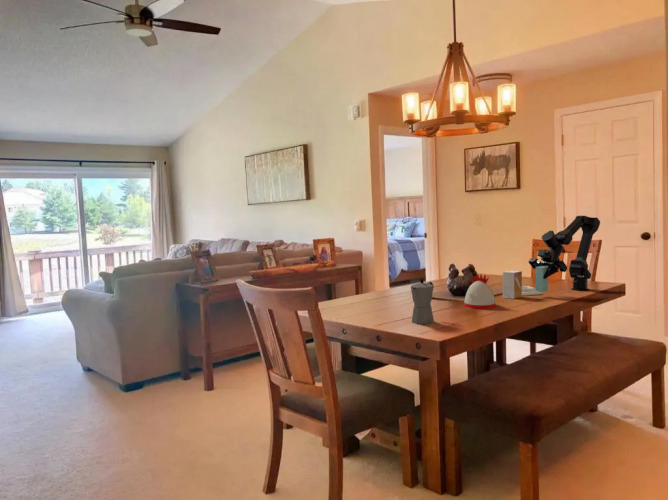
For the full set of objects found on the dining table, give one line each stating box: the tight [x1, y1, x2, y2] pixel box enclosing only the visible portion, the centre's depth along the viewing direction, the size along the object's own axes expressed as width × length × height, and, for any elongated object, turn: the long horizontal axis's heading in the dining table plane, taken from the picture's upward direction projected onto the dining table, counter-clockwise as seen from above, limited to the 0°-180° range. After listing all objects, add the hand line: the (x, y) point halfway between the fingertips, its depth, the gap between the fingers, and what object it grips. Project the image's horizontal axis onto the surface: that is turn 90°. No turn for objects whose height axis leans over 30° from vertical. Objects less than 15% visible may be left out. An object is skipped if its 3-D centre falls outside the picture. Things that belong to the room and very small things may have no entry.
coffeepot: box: [410, 277, 435, 325], centre depth 214 cm, size 15×9×18 cm, turn 141°
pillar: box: [535, 266, 549, 293], centre depth 256 cm, size 4×4×12 cm
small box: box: [502, 269, 523, 300], centre depth 259 cm, size 8×6×13 cm
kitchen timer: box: [463, 273, 496, 310], centre depth 241 cm, size 14×14×15 cm
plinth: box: [522, 285, 542, 297], centre depth 269 cm, size 12×12×3 cm
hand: (539, 278), depth 255 cm, fingers closed on pillar, 4 cm apart
